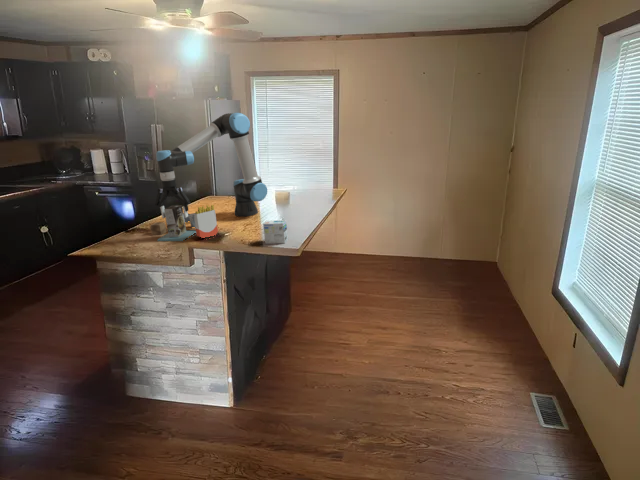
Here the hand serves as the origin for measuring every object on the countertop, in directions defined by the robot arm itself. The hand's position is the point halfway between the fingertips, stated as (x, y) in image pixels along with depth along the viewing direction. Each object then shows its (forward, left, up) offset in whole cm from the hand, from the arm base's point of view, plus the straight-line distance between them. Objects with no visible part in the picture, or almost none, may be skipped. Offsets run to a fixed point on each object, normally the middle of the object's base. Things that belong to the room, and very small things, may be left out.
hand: (175, 217), depth 242 cm
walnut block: (+16, -7, -11) cm, 21 cm away
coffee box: (0, 0, -10) cm, 10 cm away
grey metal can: (-1, -20, -11) cm, 23 cm away
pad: (0, 0, -11) cm, 11 cm away
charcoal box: (+14, -32, -11) cm, 37 cm away
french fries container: (-19, +2, -12) cm, 22 cm away
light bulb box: (-61, +10, -12) cm, 63 cm away
